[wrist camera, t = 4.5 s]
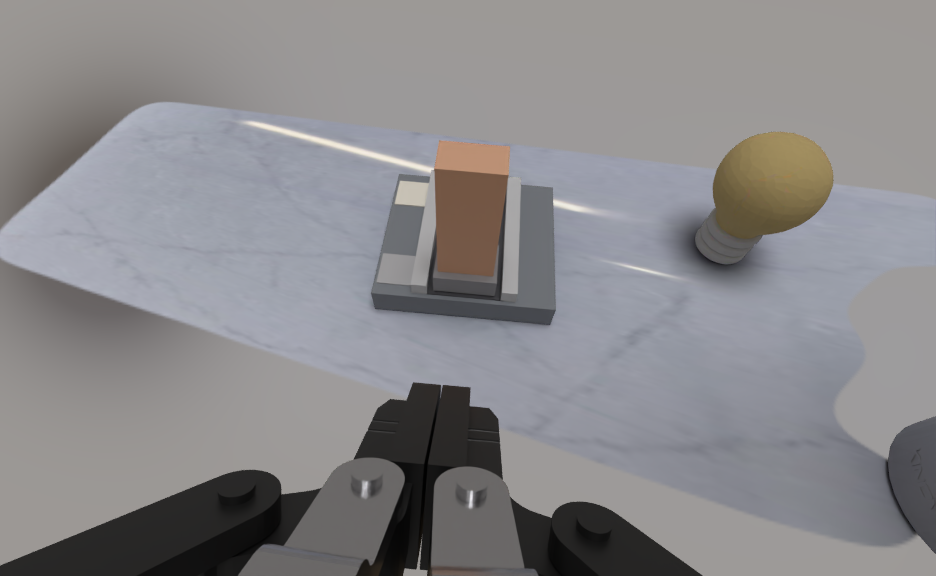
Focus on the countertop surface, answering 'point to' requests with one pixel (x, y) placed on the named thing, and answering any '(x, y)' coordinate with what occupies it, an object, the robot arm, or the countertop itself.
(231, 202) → the countertop surface
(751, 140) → the light bulb
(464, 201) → the lever
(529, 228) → the switch panel
